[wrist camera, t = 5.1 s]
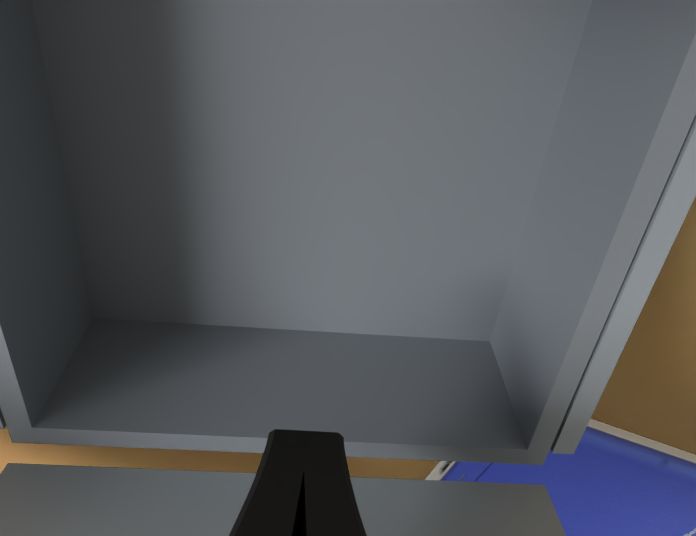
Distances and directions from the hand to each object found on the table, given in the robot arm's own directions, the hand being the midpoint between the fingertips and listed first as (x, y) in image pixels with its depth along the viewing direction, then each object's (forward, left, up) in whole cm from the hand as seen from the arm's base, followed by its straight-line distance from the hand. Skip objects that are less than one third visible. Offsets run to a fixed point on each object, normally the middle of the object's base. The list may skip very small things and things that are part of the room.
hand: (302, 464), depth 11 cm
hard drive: (+12, -11, -9) cm, 18 cm away
